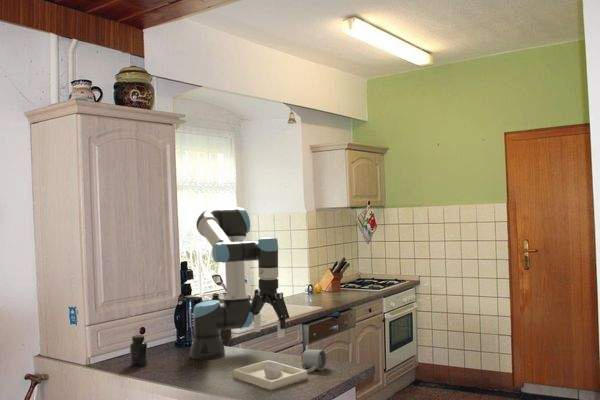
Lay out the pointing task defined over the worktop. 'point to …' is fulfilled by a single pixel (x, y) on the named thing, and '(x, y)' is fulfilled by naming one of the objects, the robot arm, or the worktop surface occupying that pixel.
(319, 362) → the ceramic mug
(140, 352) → the supplement bottle
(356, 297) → the worktop surface
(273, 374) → the grey rough-textured block
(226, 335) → the wooden container
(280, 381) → the tray
